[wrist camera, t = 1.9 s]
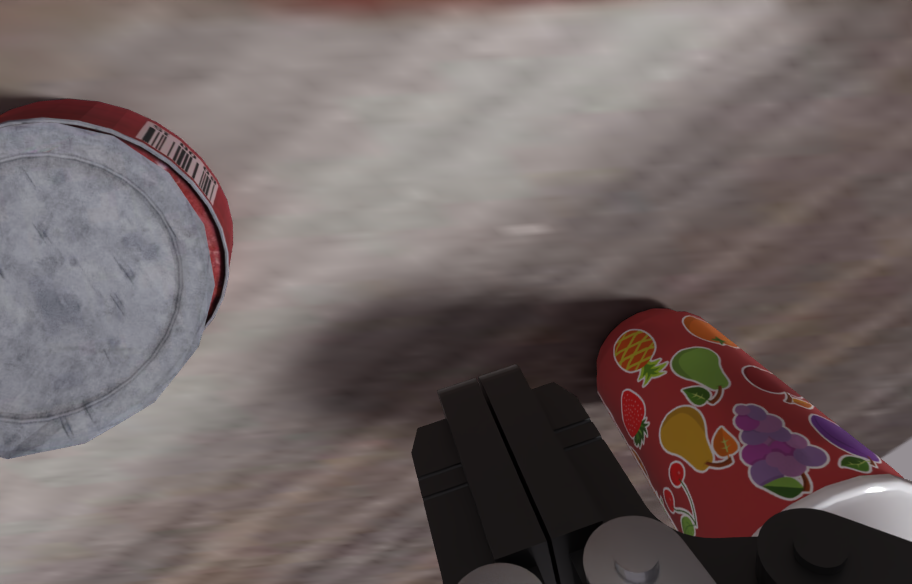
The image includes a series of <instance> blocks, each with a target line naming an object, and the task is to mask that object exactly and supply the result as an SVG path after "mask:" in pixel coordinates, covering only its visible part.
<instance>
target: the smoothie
mask: <svg viewBox="0 0 912 584" xmlns="http://www.w3.org/2000/svg"><path fill="white" fill-rule="evenodd" d="M597 392H598V394H599V396H600V398H601V400H602V402H603V404H604V405H605V407H606V409H607V410H608V412H609V414H610V416H611V417H612V419H613V421H614V423H615V424H616V426H617V428H618V430H619V431H620V433H621V435H622V437H623V438H624V440H625V442H626V444H627V445H628V447H629V449H630V451H631V453H632V454H633V456H634V458H635V460H636V461H637V463H638V465H639V467H640V468H641V470H642V472H643V474H644V475H645V477H646V479H647V481H648V482H649V484H650V486H651V488H652V489H653V491H654V493H655V495H656V496H657V498H658V500H659V502H660V503H661V505H662V507H663V509H664V510H665V512H666V514H667V516H668V517H669V519H670V521H671V523H672V525H673V526H674V528H675V530H677V531H679V532H681V533H684V534H688V535H691V536H696V537H703V538H728V537H755V536H758V535H759V531H760V529H761V528H762V526H763V524H764V523H765V522H766V521H767V520H768V519H769V518H771V517H772V516H773V515H775V514H777V513H779V512H782V511H785V510H789V509H795V508H812V509H818V510H823V511H826V512H830V513H833V514H836V515H839V516H841V517H844V518H847V519H850V520H853V521H855V522H858V523H861V524H864V525H867V526H869V527H872V528H875V529H878V530H881V531H883V532H886V533H889V534H892V535H895V536H897V537H900V538H903V539H906V540H909V541H911V542H912V481H910V480H907V479H904V478H903V477H902V476H901V475H900V474H899V473H897V472H896V471H895V470H894V469H893V468H892V467H890V466H889V465H888V464H887V463H885V462H884V461H883V460H882V459H880V458H879V457H878V456H877V455H875V454H874V453H873V452H871V451H870V450H869V449H868V448H866V447H865V446H864V445H863V444H861V443H860V442H859V441H857V440H856V439H855V438H854V437H852V436H851V435H850V434H849V433H847V432H846V431H845V430H843V429H842V428H841V427H840V426H838V425H837V424H836V423H835V422H833V421H832V420H831V419H829V418H828V417H827V416H826V415H824V414H823V413H822V412H821V411H819V410H818V409H817V408H815V407H814V406H813V405H812V404H810V403H809V402H808V401H807V400H805V399H804V398H803V397H801V396H800V395H799V394H798V393H796V392H795V391H794V390H793V389H791V388H790V387H789V386H787V385H786V384H785V383H784V382H782V381H781V380H780V379H779V378H777V377H776V376H775V375H773V374H772V373H771V372H770V371H768V370H767V369H766V368H765V367H763V366H762V365H761V364H759V363H758V362H757V361H756V360H754V359H753V358H752V357H751V356H749V355H748V354H747V353H745V352H744V351H743V350H742V349H740V348H739V347H738V346H737V345H735V344H734V343H733V342H732V341H730V340H729V339H728V338H726V337H725V336H724V335H723V334H721V333H720V332H719V331H718V330H716V329H715V328H714V327H712V326H711V325H710V324H709V323H707V322H706V321H705V320H704V319H702V318H701V317H699V316H696V315H694V314H691V313H688V312H676V311H673V310H671V309H658V308H653V309H649V310H646V311H643V312H639V313H636V314H635V315H633V316H631V317H629V318H628V319H626V320H624V321H622V322H621V323H620V324H619V325H618V326H617V327H616V328H615V329H614V330H613V331H612V332H611V333H610V334H609V335H608V337H607V338H606V340H605V341H604V343H603V344H602V346H601V348H600V351H599V354H598V358H597Z"/></svg>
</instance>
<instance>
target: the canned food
mask: <svg viewBox="0 0 912 584" xmlns="http://www.w3.org/2000/svg"><path fill="white" fill-rule="evenodd" d="M232 247H233V222H232V218H231V214H230V210H229V205H228V201H227V199H226V197H225V195H224V193H223V190H222V188H221V186H220V184H219V182H218V180H217V178H216V177H215V175H214V174H213V173H212V171H211V170H210V169H209V167H208V166H207V165H206V163H205V162H204V160H203V159H202V158H201V157H200V156H199V155H198V154H197V153H196V152H195V151H194V150H193V149H192V148H191V147H190V146H189V145H188V144H187V143H185V142H184V141H183V140H182V139H181V138H180V137H178V136H177V135H175V134H174V133H172V132H171V131H169V130H168V129H166V128H165V127H163V126H162V125H160V124H159V123H157V122H155V121H153V120H151V119H149V118H147V117H144V116H142V115H140V114H138V113H135V112H133V111H131V110H129V109H125V108H121V107H118V106H114V105H110V104H106V103H103V102H98V101H87V100H77V99H60V100H48V101H38V102H34V103H31V104H28V105H24V106H21V107H17V108H14V109H11V110H9V111H7V112H5V113H3V114H1V115H0V457H2V458H6V459H10V458H15V457H20V456H25V455H30V454H35V453H40V452H45V451H50V450H55V449H60V448H65V447H70V446H75V445H80V444H85V443H86V442H88V441H90V440H92V439H93V438H95V437H97V436H98V435H100V434H102V433H104V432H105V431H107V430H109V429H110V428H112V427H114V426H116V425H117V424H119V423H121V422H122V421H124V420H126V419H127V418H129V417H131V416H132V415H134V414H136V413H137V412H139V411H141V410H142V409H144V408H146V407H147V406H149V405H151V404H152V403H154V402H155V401H156V400H157V398H158V397H159V396H160V395H161V393H162V392H163V391H164V390H165V388H166V387H167V386H168V385H169V383H170V382H171V381H172V380H173V378H174V377H175V376H176V375H177V373H178V372H179V371H180V370H181V368H182V367H183V366H184V364H185V363H186V362H187V361H188V359H189V358H190V357H191V356H192V354H193V353H194V352H195V350H196V349H197V348H198V347H199V344H200V340H201V336H202V333H203V331H204V330H205V329H206V327H207V326H208V325H209V324H210V322H211V321H212V320H213V319H214V317H215V315H216V313H217V311H218V309H219V307H220V305H221V303H222V301H223V299H224V296H225V291H226V287H227V282H228V278H229V265H230V259H231V253H232Z"/></svg>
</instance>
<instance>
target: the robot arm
mask: <svg viewBox="0 0 912 584" xmlns="http://www.w3.org/2000/svg"><path fill="white" fill-rule="evenodd" d="M478 381H479V384H478V382H477V380H476V378H474V379H471V380H468V381H464V382H461V383H458V384H455V385H452V386H449V387H446V388H443V389H440V390H437V392H438V395H439V399H440V402H441V405H442V408H443V411H444V415H445V418H446V419H443V420H440V421H437V422H434V423H432V424H429V425H426V426H423V427H420V428H418V429H417V433H416V437H415V441H414V445H413V449H412V452H411V453H412V457H413V461H414V466H415V470H416V474H417V478H418V481H419V486H420V490H421V494H422V498H423V501H424V506H425V510H426V514H427V518H428V522H429V527H430V531H431V535H432V539H433V543H434V547H435V551H436V555H437V559H438V563H439V567H440V571H441V575H442V580H443V584H912V542H911V541H909V540H906V539H903V538H900V537H897V536H895V535H892V534H889V533H886V532H883V531H881V530H878V529H875V528H872V527H869V526H867V525H864V524H861V523H858V522H855V521H853V520H850V519H847V518H844V517H841V516H839V515H836V514H833V513H830V512H826V511H823V510H818V509H812V508H795V509H789V510H785V511H782V512H779V513H777V514H775V515H773V516H772V517H771V518H769V519H768V520H767V521H766V522H765V523H764V524H763V526H762V528H761V529H760V531H759V535H758V536H755V537H728V538H703V537H696V536H691V535H688V534H684V533H681V532H679V531H677V530H674V529H672V528H670V527H669V526H667V525H665V524H664V523H662V522H661V521H660V520H658V519H657V518H656V517H655V516H654V515H653V514H652V513H651V512H650V511H649V509H648V508H647V507H646V505H645V504H644V502H643V501H642V499H641V497H640V496H639V494H638V493H637V491H636V490H635V488H634V486H633V485H632V483H631V482H630V480H629V479H628V477H627V475H626V474H625V472H624V471H623V469H622V468H621V466H620V464H619V463H618V461H617V460H616V458H615V457H614V455H613V453H612V452H611V450H610V449H609V447H608V446H607V444H606V442H605V441H604V440H602V438H601V435H600V433H599V431H598V430H597V428H596V427H595V425H594V424H593V422H591V420H590V417H589V416H588V414H587V413H586V411H585V409H584V408H583V406H582V405H581V403H580V402H579V400H578V398H577V397H576V396H575V395H573V394H571V393H570V392H568V391H567V390H565V389H564V388H562V387H561V386H559V385H557V384H556V383H554V382H553V383H550V384H547V385H544V386H541V387H538V388H535V389H532V390H531V388H530V387H529V385H528V383H527V381H526V379H525V377H524V376H523V374H522V372H521V370H520V368H519V367H518V365H516V364H515V365H512V366H509V367H506V368H503V369H500V370H497V371H494V372H491V373H488V374H485V375H482V376H479V377H478ZM479 385H480V386H479Z"/></svg>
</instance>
